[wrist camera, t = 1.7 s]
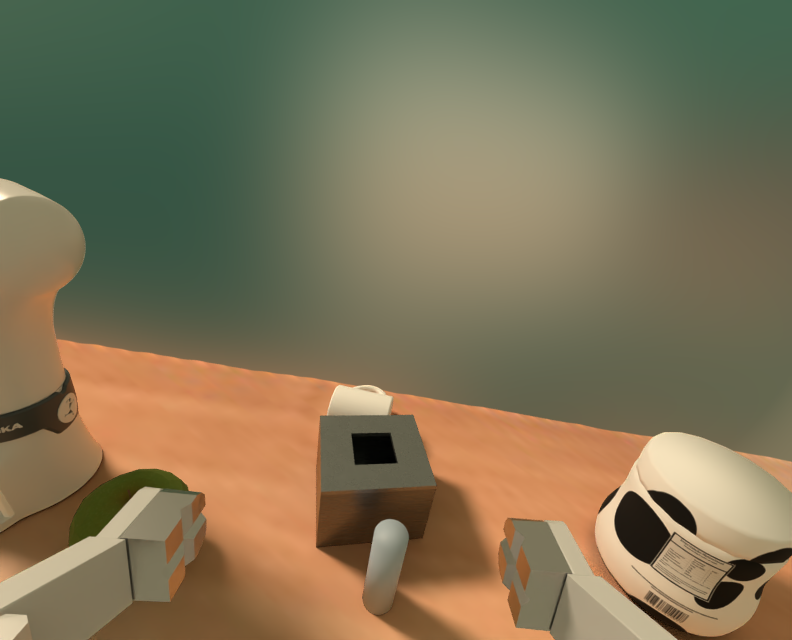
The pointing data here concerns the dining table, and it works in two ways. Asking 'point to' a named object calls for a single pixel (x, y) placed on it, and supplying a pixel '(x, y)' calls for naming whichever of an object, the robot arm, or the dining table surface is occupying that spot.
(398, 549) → the grey rounded cylinder
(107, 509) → the apple
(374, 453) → the grey square box
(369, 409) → the mug
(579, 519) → the dining table surface
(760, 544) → the milk container
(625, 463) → the dining table surface
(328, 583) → the dining table surface
